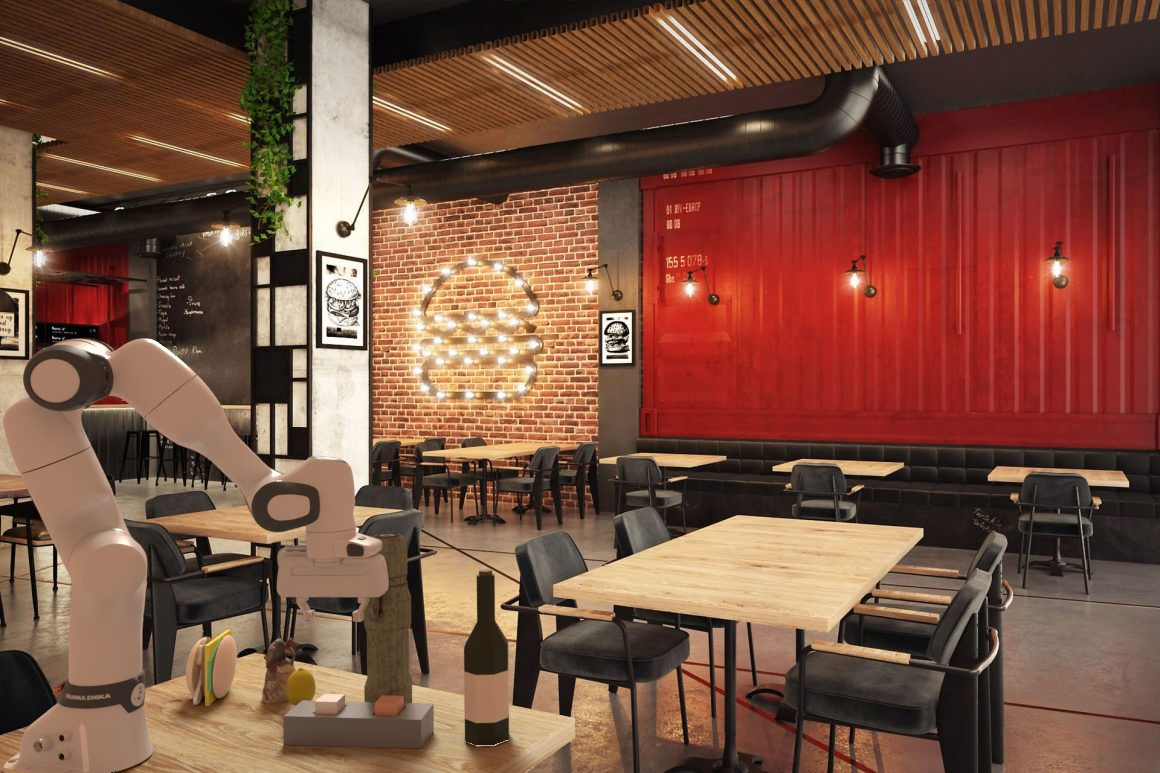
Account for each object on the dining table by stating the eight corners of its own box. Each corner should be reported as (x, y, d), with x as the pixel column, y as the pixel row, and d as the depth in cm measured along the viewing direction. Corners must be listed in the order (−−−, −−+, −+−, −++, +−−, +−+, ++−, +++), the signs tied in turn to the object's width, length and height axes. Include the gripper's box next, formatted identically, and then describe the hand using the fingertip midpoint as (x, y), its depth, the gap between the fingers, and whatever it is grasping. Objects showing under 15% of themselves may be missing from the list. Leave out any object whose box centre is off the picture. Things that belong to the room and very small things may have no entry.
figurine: (267, 692, 180) (266, 634, 180) (302, 690, 181) (301, 633, 181) (257, 704, 173) (257, 644, 173) (294, 702, 174) (293, 642, 174)
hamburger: (202, 686, 184) (202, 630, 185) (241, 685, 185) (241, 629, 185) (178, 706, 172) (177, 646, 173) (220, 705, 173) (219, 645, 173)
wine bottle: (498, 750, 149) (496, 576, 150) (455, 744, 152) (453, 573, 152) (518, 732, 157) (516, 567, 157) (477, 727, 160) (475, 564, 160)
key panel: (283, 744, 153) (283, 716, 153) (302, 727, 160) (302, 700, 161) (421, 748, 150) (421, 719, 150) (433, 731, 158) (433, 703, 158)
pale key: (315, 721, 154) (315, 701, 154) (324, 713, 158) (323, 693, 158) (336, 721, 154) (336, 702, 154) (345, 713, 158) (344, 694, 158)
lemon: (319, 704, 173) (319, 663, 173) (308, 714, 167) (308, 672, 168) (293, 703, 173) (293, 663, 174) (281, 713, 168) (281, 672, 168)
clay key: (374, 722, 153) (374, 703, 153) (382, 714, 157) (382, 695, 157) (396, 723, 153) (396, 703, 153) (403, 715, 157) (403, 695, 157)
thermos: (421, 707, 170) (419, 529, 171) (400, 730, 158) (398, 539, 159) (378, 706, 171) (376, 529, 172) (354, 728, 160) (353, 539, 160)
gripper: (269, 548, 155) (271, 625, 155) (378, 547, 152) (380, 626, 152) (285, 542, 161) (287, 616, 161) (390, 541, 159) (392, 616, 159)
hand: (333, 620), depth 157 cm, fingers open, 8 cm apart
